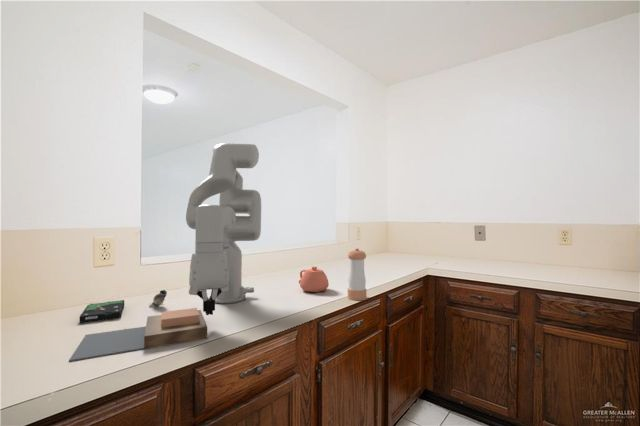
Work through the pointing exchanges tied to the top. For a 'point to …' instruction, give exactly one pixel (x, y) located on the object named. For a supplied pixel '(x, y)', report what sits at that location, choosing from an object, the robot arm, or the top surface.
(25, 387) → the top surface
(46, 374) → the top surface
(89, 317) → the disk drive
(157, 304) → the bird figurine
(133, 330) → the mat
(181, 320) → the block
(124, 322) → the top surface
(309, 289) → the sugar bowl
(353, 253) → the pepper shaker
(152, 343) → the block
